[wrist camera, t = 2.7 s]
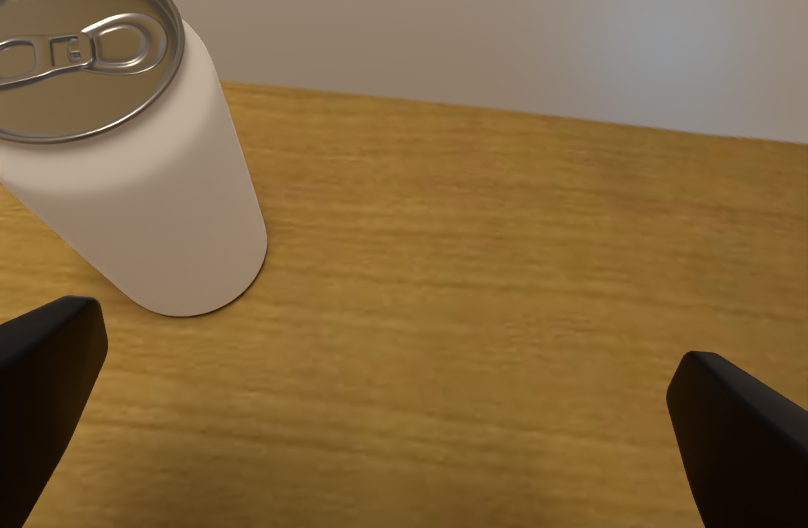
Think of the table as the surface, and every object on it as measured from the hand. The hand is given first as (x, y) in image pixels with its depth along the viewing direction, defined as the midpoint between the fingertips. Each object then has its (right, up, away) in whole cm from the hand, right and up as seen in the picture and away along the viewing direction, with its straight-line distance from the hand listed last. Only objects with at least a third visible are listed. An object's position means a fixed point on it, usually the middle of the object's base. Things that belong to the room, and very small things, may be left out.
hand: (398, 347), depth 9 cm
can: (-9, +2, +16) cm, 18 cm away
